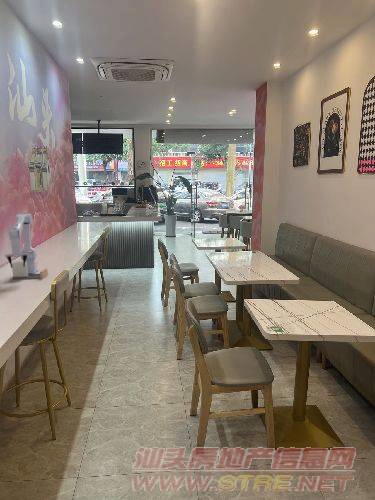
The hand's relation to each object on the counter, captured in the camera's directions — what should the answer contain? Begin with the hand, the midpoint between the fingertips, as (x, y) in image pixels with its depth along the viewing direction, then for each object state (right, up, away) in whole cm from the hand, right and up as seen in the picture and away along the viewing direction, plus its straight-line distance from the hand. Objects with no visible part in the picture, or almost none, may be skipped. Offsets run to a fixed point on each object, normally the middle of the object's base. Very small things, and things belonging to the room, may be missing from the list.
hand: (17, 267), depth 264 cm
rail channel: (+2, -8, +14) cm, 17 cm away
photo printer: (-4, -8, +15) cm, 17 cm away
